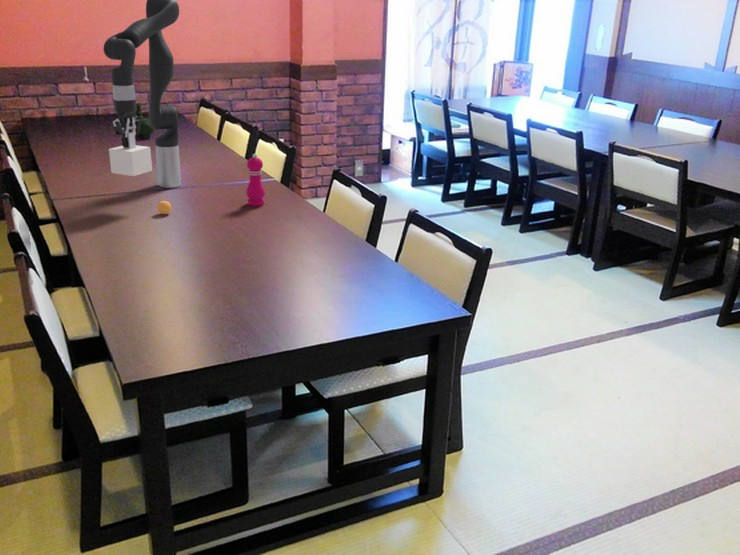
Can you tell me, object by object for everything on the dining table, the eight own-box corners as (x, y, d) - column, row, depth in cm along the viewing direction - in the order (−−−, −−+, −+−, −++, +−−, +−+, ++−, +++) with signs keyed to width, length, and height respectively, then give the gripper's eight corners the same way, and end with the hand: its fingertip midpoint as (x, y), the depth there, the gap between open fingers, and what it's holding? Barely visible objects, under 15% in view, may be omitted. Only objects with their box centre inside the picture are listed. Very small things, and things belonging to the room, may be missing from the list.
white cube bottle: (111, 172, 250) (107, 133, 244) (130, 167, 259) (126, 129, 253) (134, 176, 246) (130, 136, 241) (152, 170, 255) (148, 131, 250)
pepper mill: (268, 203, 271) (267, 153, 264) (258, 207, 265) (257, 156, 257) (253, 200, 274) (252, 151, 266) (243, 204, 268) (241, 154, 260)
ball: (155, 214, 252) (153, 201, 250) (163, 211, 256) (162, 198, 254) (166, 216, 250) (165, 203, 248) (174, 213, 254) (173, 200, 252)
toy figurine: (132, 136, 392) (140, 140, 371) (128, 102, 386) (136, 104, 365) (148, 135, 396) (158, 139, 375) (145, 102, 390) (154, 104, 369)
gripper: (129, 95, 250) (133, 142, 256) (102, 99, 238) (107, 148, 244) (146, 96, 247) (150, 144, 254) (119, 101, 235) (124, 151, 242)
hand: (129, 146), depth 249 cm, fingers closed on white cube bottle, 3 cm apart
